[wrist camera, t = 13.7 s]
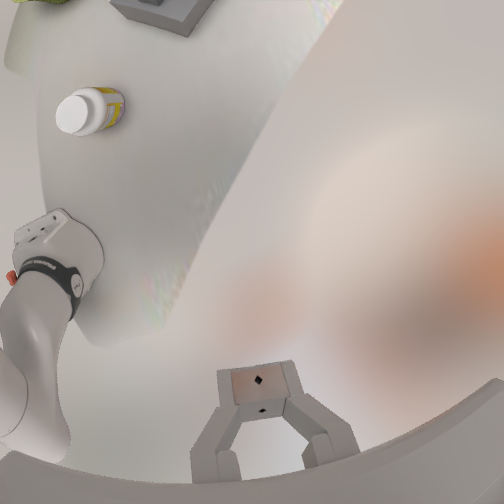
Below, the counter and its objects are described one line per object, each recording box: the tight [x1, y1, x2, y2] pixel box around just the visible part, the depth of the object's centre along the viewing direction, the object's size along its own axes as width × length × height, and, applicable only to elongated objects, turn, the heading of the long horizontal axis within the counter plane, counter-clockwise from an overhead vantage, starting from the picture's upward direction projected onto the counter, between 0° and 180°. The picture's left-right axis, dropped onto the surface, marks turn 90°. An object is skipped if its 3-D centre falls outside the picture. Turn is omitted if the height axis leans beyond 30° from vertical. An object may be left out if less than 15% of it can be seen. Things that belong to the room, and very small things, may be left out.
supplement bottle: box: [56, 87, 125, 137], centre depth 28 cm, size 7×7×13 cm
